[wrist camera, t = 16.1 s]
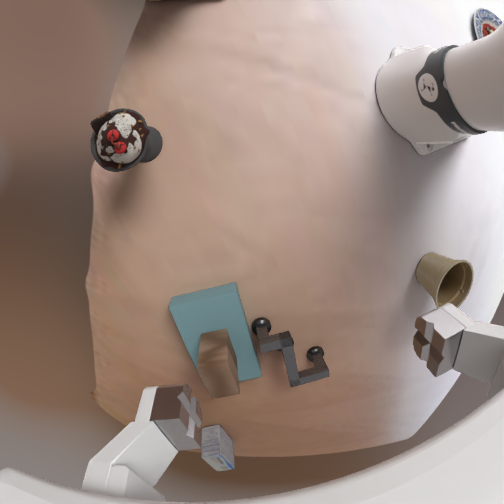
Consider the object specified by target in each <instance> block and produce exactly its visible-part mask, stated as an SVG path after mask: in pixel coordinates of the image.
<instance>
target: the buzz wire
mask: <svg viewBox="0 0 504 504" xmlns="http://www.w3.org/2000/svg"><path fill="white" fill-rule="evenodd" d="M252 330H253V332H254V333H255V334H256V335H258V340H259V345H260V349H261V352H262V353H265V352H269V351H273V350H277V349H278V350H279V351H282V354H283V358H284V361H285V365H286V370H287V374H288V378H289V382H290V386H291V387H294V386H298V385H302V384H305V383H309V382H312V381H316V380H319V379H322V378H326V377H329V369H328V367H327V365H326V363H325V361H324V358H323V356H324V351H323V349H322V348H321V347H319V346H315V347H312V348H310V349H309V350H308V352H307V357H308V359H309V360H310V361H312V362H313V363H314V365H315V367H314V368H310V369H307V370H303V371H300V372H298V370H297V364H296V359H295V354H294V349H293V344H294V342H293V339H292V337H291V335H290V333H289V331H286V332H283V333H279V334H275V335H271V336H269V334H268V333H269V332H270V330H271V324H270V321H269V320H268V319H266V318H263V317H261V318H257V319H255V320H254V321H253V323H252Z"/></svg>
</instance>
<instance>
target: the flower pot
mask: <svg viewBox="0 0 504 504" xmlns="http://www.w3.org/2000/svg"><path fill="white" fill-rule="evenodd" d="M416 278H417V280H418V282H419V283H420V284H421V285H422V286H423V287H424V288H425V289H426V290H427V292H428V293H429V294H430V295H431V296H432V297H433V299H434V301H435V304H436V307H437V308H439V307H441V306H443V305H445V304H447V303H451V304H453V305H454V306H455V307H457V308H458V307H459V306H460V305H461V304H462V302H463V301H464V300H465V299H466V297H467V295H468V293H469V291H470V289H471V286H472V282H473V268H472V266H471V264H470V263H469V262H468V261H466V260H453V259H450V258H447V257H444V256H442V255H439V254H436V253H428V254H426V255H425V256H423V257H422V259H421V261H420V263H419V264H418V266H417V269H416Z"/></svg>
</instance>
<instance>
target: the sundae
mask: <svg viewBox="0 0 504 504" xmlns="http://www.w3.org/2000/svg"><path fill="white" fill-rule="evenodd" d="M91 126H92V128H93V130H94V132H93V134H92V138H91V151H92V154H93V156H94V158H95V160H96V161H97V163H98V164H99V165H100V166H101V167H103V168H104V169H106V170H108V171H113V172H119V171H124V170H127V169H129V168H131V167H133V166H135V165H136V164H138V163H139V162H140V161H141V162H147V161H150V160H152V159H154V158H155V157H156V156H157V155H158V154H159V153H160V151H161V148H162V137H161V135H160V133H159V131H157V130H156V129H155V128H153V127H149V126H147V124H146V122H145V119H144V118H143V117H142V115H140V114H139V113H138V112H136V111H134V110H130V109H117V110H113V111H111V112H109V111H108V112H106V113H104V114H102V115H100V116H99V117H97V118H96V119H95V120H93V121H91Z"/></svg>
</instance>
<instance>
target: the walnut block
mask: <svg viewBox="0 0 504 504" xmlns="http://www.w3.org/2000/svg"><path fill="white" fill-rule="evenodd" d="M197 370H198V372H199V374H200V376H201V378H202V380H203V382H204V384H205V386H206V388H207V390H208V392H209V394H210V396H211V398H219V397H225V396H230V395H236V394H240V390H239V378H238V366H237V357H236V354H235V351H234V348H233V345H232V342H231V339H230V337H229V334H228V331H227V328H226V329H221V330H216V331H212V332H207V333H202V334H201V337H200V347H199V356H198V366H197Z"/></svg>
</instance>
